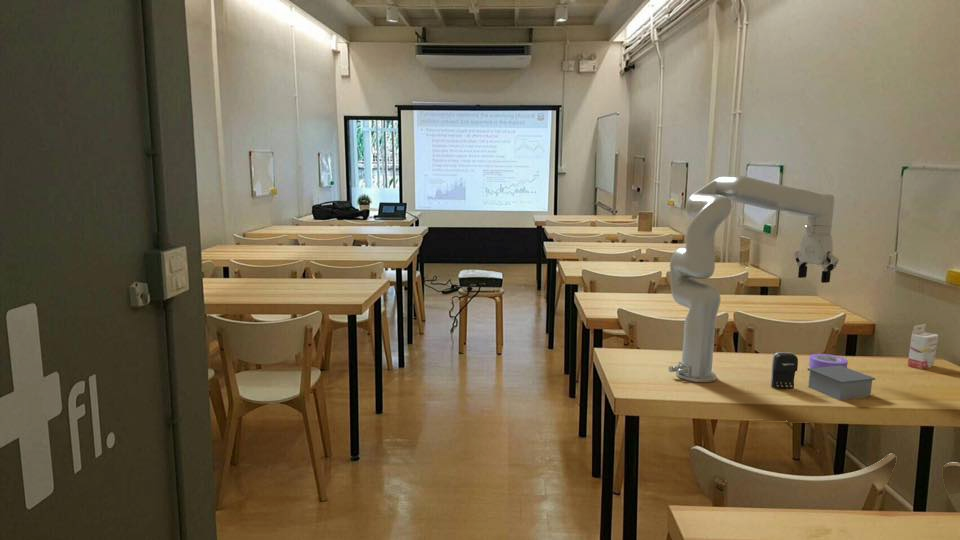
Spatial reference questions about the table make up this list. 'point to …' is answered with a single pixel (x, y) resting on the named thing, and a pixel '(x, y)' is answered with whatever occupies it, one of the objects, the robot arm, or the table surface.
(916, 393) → the table surface
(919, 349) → the ink cartridge box
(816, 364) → the masking tape
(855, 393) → the stand
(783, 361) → the battery charger
